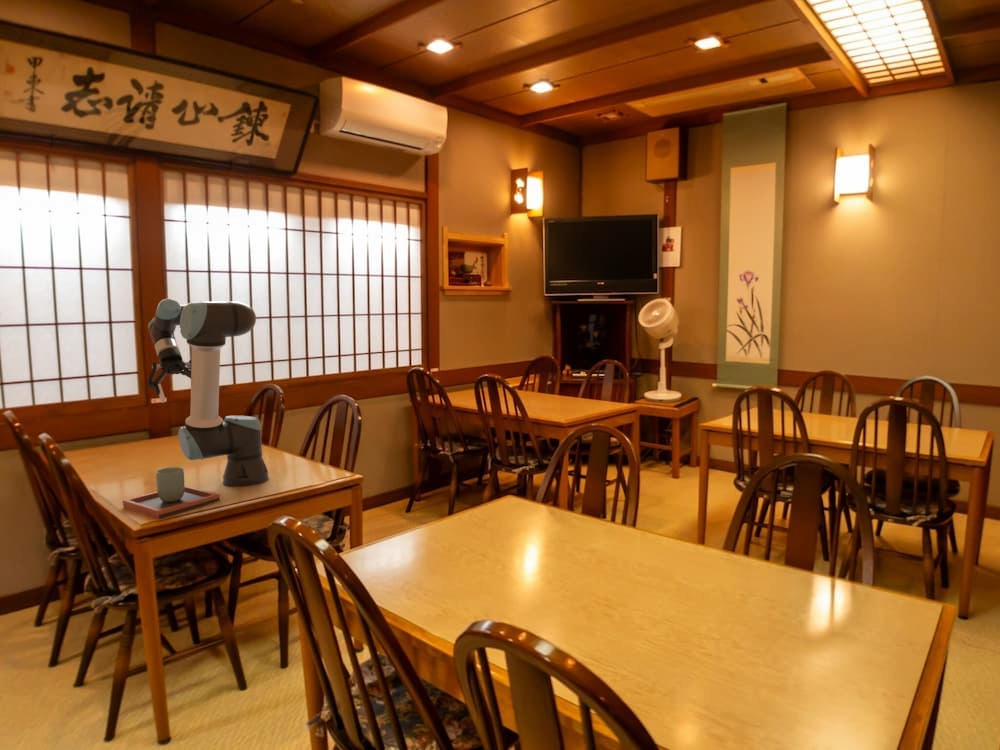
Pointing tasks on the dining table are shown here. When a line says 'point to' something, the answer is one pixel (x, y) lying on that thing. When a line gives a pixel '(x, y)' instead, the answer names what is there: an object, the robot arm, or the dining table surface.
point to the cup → (170, 484)
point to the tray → (160, 509)
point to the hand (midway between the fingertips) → (184, 398)
